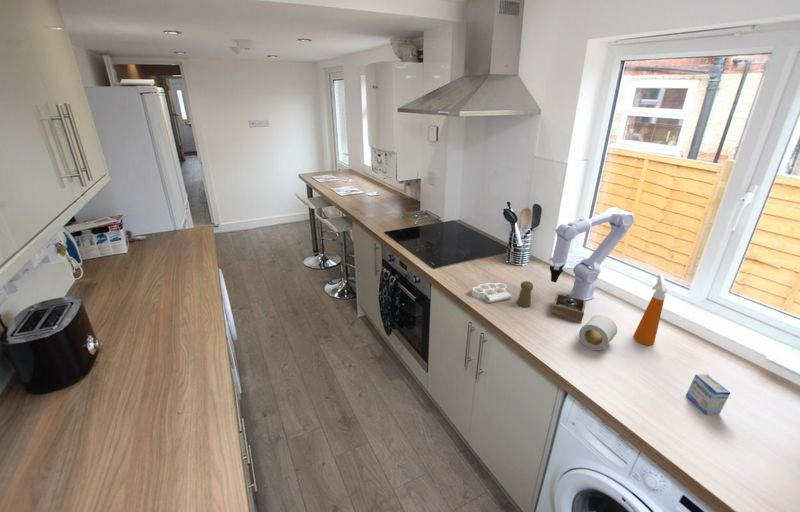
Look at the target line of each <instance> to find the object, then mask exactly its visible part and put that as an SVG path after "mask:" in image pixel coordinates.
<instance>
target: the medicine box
mask: <svg viewBox="0 0 800 512" xmlns="http://www.w3.org/2000/svg"><path fill="white" fill-rule="evenodd" d="M730 395H731V392H730V391H729V390H728V389H726V388H725V387H724V386H722V384H720V383H719V382H717V380H715V379H714V378H713V377H712V376H710V375H709V374H707V373H705V374H704V373H702V374H701V373H700V374H695V375H694V377H693V379H692V381H691V383H690V386H689V388H688V390H687V391H686V394H685V396H686V398H687V399H688V400H690V401H691V402H692V403H693V404H694V405H695V406H697V408H699V409H700V410H701V411H702V412H703V413H704V414H705V415H706V416H709V415H711V416H712V415H713V416H714V415H720V414H721V413H722V410H723V409H724V406H725V405H726V403H727V400H728V399H729V397H730Z"/></svg>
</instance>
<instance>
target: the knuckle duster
mask: <svg viewBox="0 0 800 512" xmlns="http://www.w3.org/2000/svg"><path fill="white" fill-rule="evenodd" d="M507 289H508V287H507V285H506V284H505V283H502V282H494V283H493V282H487V283H480V284H478V285H477V286H473V287H472V289H471V296H472V297H474V298H475V299H482V300H484V301H486V302H487V303H489V304H490V303H495V302H499V301H504V300H510V299H511V298H512V295H511V293H510V292H508V291H507Z"/></svg>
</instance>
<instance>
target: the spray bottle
mask: <svg viewBox="0 0 800 512" xmlns="http://www.w3.org/2000/svg"><path fill="white" fill-rule="evenodd" d="M664 276H665V275H663V274H662V273H658V275H657V277H658V278H657V282H656V283H655V285H654V286H653V287H652V289H651V290H655V291H654V292H653V294H652V296H651V298H650V301H649V303H648V304H647V307H646V309H645V311H644V313H643V315H642V317H641V319H640V321H639V323H638V325H637V327H636V329H635V331H634V333H633V334H632V335H633V336H632V337H633V338H634V340H635V341H636V342H638V343H640V344H642V345H646V346H652V345H654V344H655V342H656V337H657V333H658V328H659V325H660V319H661V315H662V312H663V311H662V310H663V306H664V303H665V298H666V296H667V294H666V293H667V292H668V288H667V287H668V286H667V283H666V280H665V277H664Z"/></svg>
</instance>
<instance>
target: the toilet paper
mask: <svg viewBox="0 0 800 512" xmlns="http://www.w3.org/2000/svg"><path fill="white" fill-rule="evenodd" d="M617 333H618V327H617V324H616V322H615V321H614V320H613V319H612V318H611V317H609V316H607V315H604V314H596V315H594V316H592V317H591V318H590V319H588V321H586V323H585V324H584V325H583V326H582V327H580V329H579V332H578V338H579V340H580V341H581V343H582V344H583V345H584V346H585V347H587V349H590V350H592V351H602V350H604V349H605V348H607V347H608V345H609V344H610V342H612V340H613V339H614V338H615V337H616V336H617Z"/></svg>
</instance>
